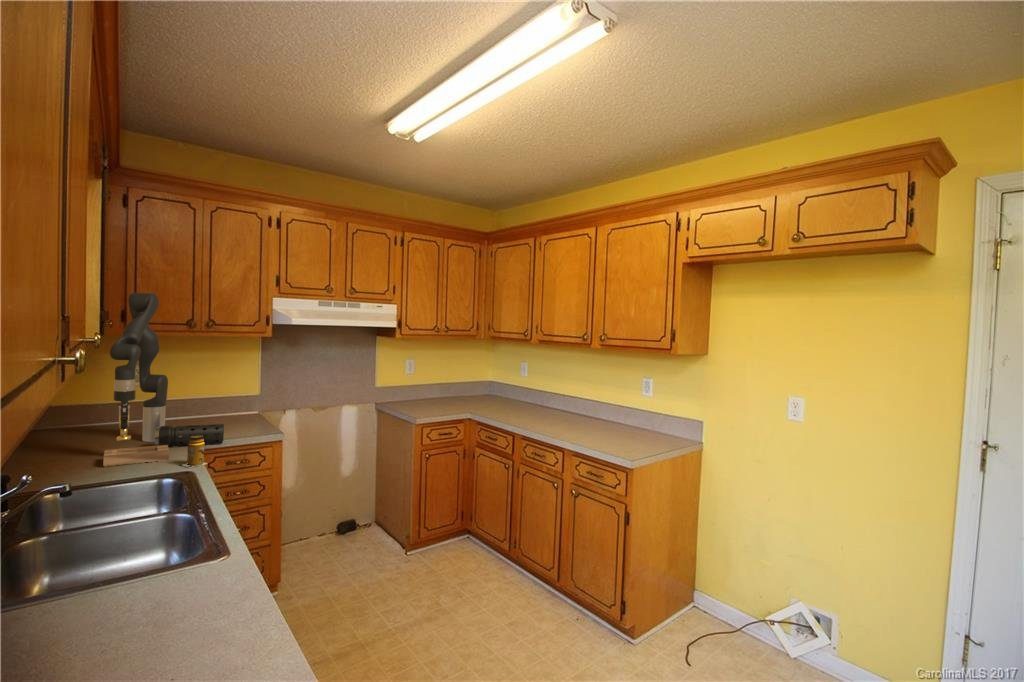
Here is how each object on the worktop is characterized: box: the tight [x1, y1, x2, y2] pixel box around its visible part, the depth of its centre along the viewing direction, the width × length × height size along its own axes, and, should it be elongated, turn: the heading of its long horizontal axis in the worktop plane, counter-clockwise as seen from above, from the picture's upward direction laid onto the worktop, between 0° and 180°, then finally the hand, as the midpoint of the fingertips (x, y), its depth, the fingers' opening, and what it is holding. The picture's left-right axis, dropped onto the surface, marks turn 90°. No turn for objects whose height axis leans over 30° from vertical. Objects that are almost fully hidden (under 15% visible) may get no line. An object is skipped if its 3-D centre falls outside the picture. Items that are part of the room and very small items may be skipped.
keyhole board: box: [102, 445, 170, 467], centre depth 212 cm, size 12×22×4 cm, turn 128°
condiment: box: [186, 435, 208, 468], centre depth 210 cm, size 7×8×12 cm
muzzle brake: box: [154, 423, 225, 448], centre depth 241 cm, size 10×28×10 cm, turn 120°
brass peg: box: [116, 408, 132, 442], centre depth 216 cm, size 5×5×14 cm
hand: (124, 427), depth 216 cm, fingers closed on brass peg, 3 cm apart
